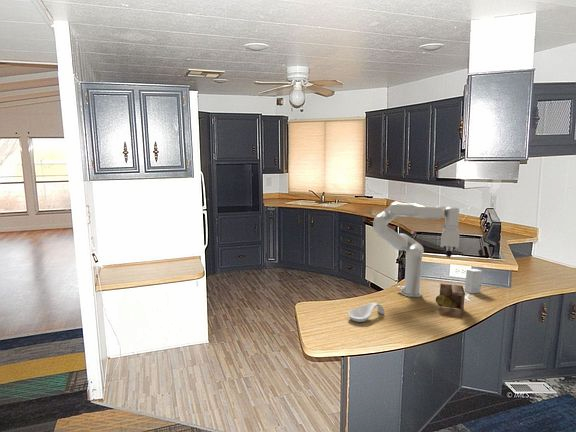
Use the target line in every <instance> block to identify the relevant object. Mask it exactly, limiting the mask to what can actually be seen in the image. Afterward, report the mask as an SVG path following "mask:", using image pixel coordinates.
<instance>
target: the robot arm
mask: <svg viewBox="0 0 576 432" xmlns="http://www.w3.org/2000/svg"><path fill="white" fill-rule="evenodd" d="M397 217H405V218H406V217H408V218H416V219H417V218H418V219H423V220H424V219H425V220H434V221H435V220H437V221H438V220H442V219H443V218H444V224H441V228H442V233H441V236H440V237H441V238H440V245H439V246H440V248H443V249H445V256H446V257H447V258H451V256H452V253H453V251H454V250H455V249H457V250H458V249H459V248H460V230H459V220H460V219H459V218H460V208H459V207H456V206H446V205H438V204H437V205H436V206H424V205H420V204H419V203H409V202H401V201H399V200H398V201H397V200H396V201H394V202H392V203H391V204H389V206H388V207H386V208H385V209H384V210H383V211H381V212H380V213H379V214H377V215H375V216H374V219H373V223H372V226H373V227H372V228H373V230H374V232H375V234H376V235H377V236H378V237H380V238H381V239H383V240H384V241H385V242H386V243H388V245H391V246H392V247H393V248H395V249H396V250H398V251H405V271H404V274H405V275H404V285H402V286H400V285H397V286H396V290H398V291H401V295H403V296H405V297H409V298H421V297H422V295H423V293H422V292H421V291H420V290H421V278H422V277H421V276H422V265H423V263H422V260H423V259H422V258H423V255H424V254H425V253H424V252H425V251H424V250H425V249H424V246H423V245H422V244H421V243H419V242H418V241H417V240H415V239H413V238H412V237H411V236H409V235H408V234H406V233H401V232H400V233H398V232H397V231H395V230H394V229H393V228H391V227H389V226H388V224H390V222H392V221H393V220H395V219H396V218H397Z"/></svg>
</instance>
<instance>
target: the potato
mask: <svg viewBox="0 0 576 432" xmlns="http://www.w3.org/2000/svg"><path fill="white" fill-rule="evenodd" d="M435 302H436V304H437V305H438V307H440V306H441V307H449V308H457V309H459V307H458V305H457V304H456V303H455V302H453V301H452V300H451V299H450V298H448V297H447V296H445V295H440V294H439V295H437V296H436V297H435Z"/></svg>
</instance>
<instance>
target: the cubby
mask: <svg viewBox="0 0 576 432" xmlns="http://www.w3.org/2000/svg"><path fill="white" fill-rule="evenodd" d="M439 295H445V296H447V297H448V298H450V299H451V300H452V301H453V302H455V303H456V304H457V305H458V307H459V309H457V308H449V307H441V306H439V315H445V316H446V315H447V316H451V317H453V316H454V317H460V318H462V317H463V316H464V310H465V309H464V308H465V307H464V306H465V298H466V291H465V287H464V286H463V285H460V284H459V285H458V284H450V283H449V284H448V283H442V282H441V283H440V285H439Z"/></svg>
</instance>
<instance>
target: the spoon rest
mask: <svg viewBox="0 0 576 432" xmlns="http://www.w3.org/2000/svg"><path fill="white" fill-rule="evenodd" d="M375 307H377V313H378V314H381V315H385V309H384V307H383V306H382V305H381V304H380V303H379V304H378V303H377V302H369V303H367V304H365V305H363V306H359V307H357V308H354V309H351V310H349V311H348V313H347V315H348V317H349V318H350V320H351V321H354V322H357V323H364V322H366V321H367V320H369V318H370V317H371V315H372V313H373V310H374V309H375Z"/></svg>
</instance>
